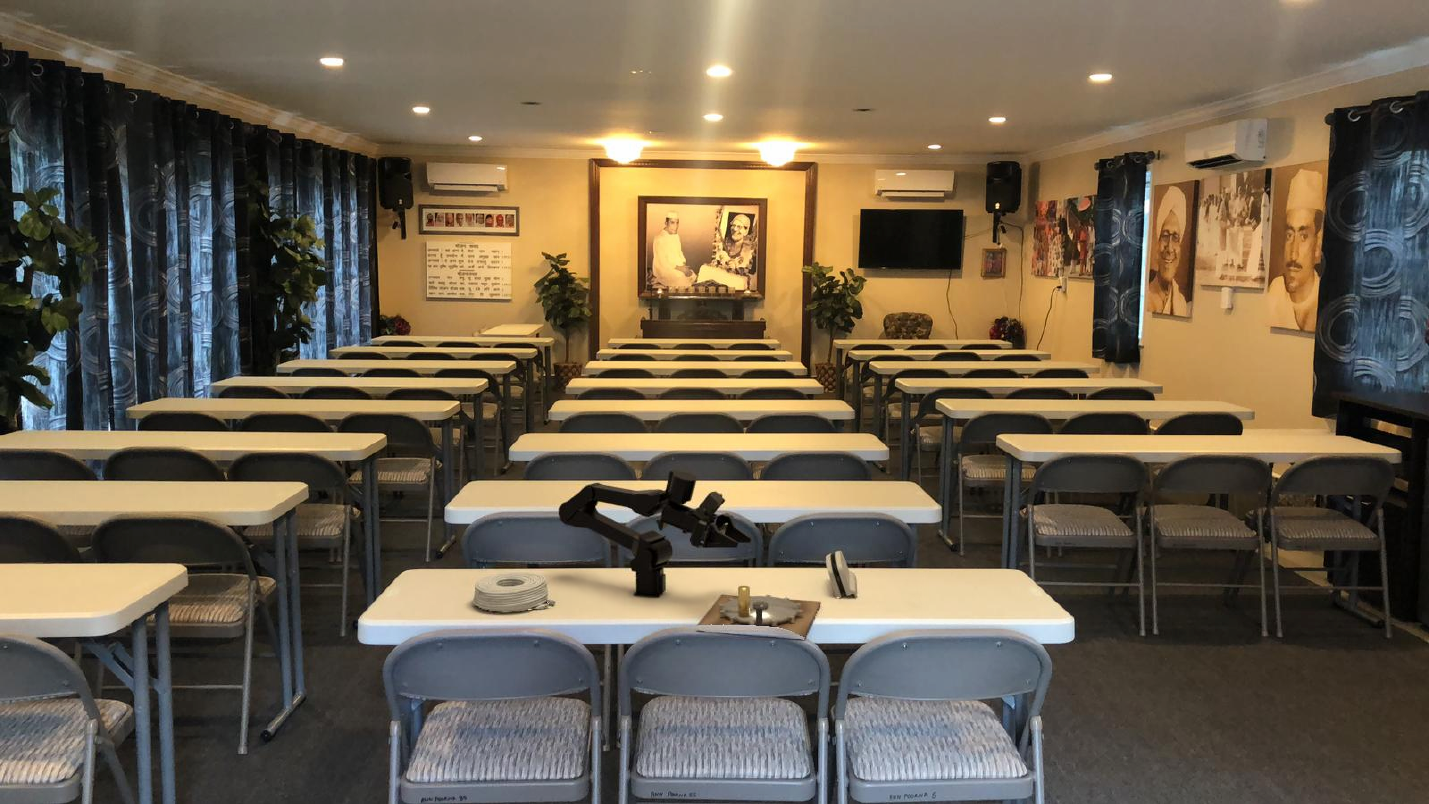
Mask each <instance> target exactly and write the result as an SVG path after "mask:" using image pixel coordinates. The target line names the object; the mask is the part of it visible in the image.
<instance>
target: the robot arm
mask: <svg viewBox="0 0 1429 804" xmlns="http://www.w3.org/2000/svg"><path fill="white" fill-rule="evenodd" d="M697 478H698V477H697V475H695V474H694V473H692V472H687V471H679V470H676V469H672V470H670V471H669V472H668V480H667V484H666V487H665V489H664V490H663V489H659V488H658V489H643V490H633V489H628V488H623V487H618V486H614V485H613V486H612V485H606V484H603V483H601V482H594V483H593V482H592V483H591V484H586V485H585V486H584V487H583V488H581V489H580V490H579V492H577V493H575V494H574V496H572V497H570V498H569V499H568V500H566V501H564V502H562V503H561V504H560V505H559V506H558V507H559V508H558V516H559V521H560V522H561V523H563V524H564V525H567V526H570V527H573V528H582V529H587V530H590V531H591V532H595V533H596V534H598V535H599V536H602V537H603V538H606V539H608V540H609V541H611V542H613V543H615V544H617V545H618V546H619V545H620V546H621V547H624V548H625V549H627V550H629V551H630V552H631V553H632V555H633V557H634V558H633V559H632V560H631V561H630V562H629V565H630V569H631V572H635V591H634V592H633V596H635V597H636V596H637V597H647V598H648V597H649V598H650V597H651V598H660V597H661V595H662V594H664V593H665V592H666V590H667V577H666V576H667V575H666V574H665V572H664V571H665V570H664V567H667V566H668V564H669V561H670V559H671V558H672V556H673V551H674V550H673V545H672V543H671V541H670V540H668V539H667V538H666V537H667V536H666V535H662V534H659V533H658V532H657V531H655V530H649V531H646V532H644V533H640V532H639V531H636V530H634V529H632V528H630V527H628V526H627V525H624V524H622V523H620V522H618V521H616V520H614V519H612V518H610V517H608V516H606V515H604V514H602V513H600V512H599V511H598V509H597V506H598V504H599V503H604V504H610V505H612V506H613V505H614V506H618V507H624V508H628V509H631V511H632V512H634V513H635V514H637V515H639V516H642V517H645V518H651V517H653V516H657V515H658V514H660V517H659V518H658V519H655V522H656V524H657V528H658V530H659V531H661V532H662V531H663V530H664V529H666V528H668V526H671V527H673V528H675V529H679V530H681V531H682V532H681V533H683V534H684V535H688V534H690V538H689V542H690V544H691V546H693V547H695V548H698V549H700V548H702V549H715V548H717V549H722V548H724V549H725V548H726V549H727V548H729V549H730V548H731V549H732V548H734V549H735V548H738V547H739V544H742V543H743V544H751V542H752V538H751V536H749V535H748V534H746V533H745V532H744V531H743V530H741V529H740V528H739V527H738V526H737V525H736V522H735V517H734V515H732V514H730V513H727V512H725V513H722V514H720V515H718V514H717V513H716V512H717V511H718V510H719V509H720V508H721V506H722V505H724V503H726V499H725V498H723V494H722V493H719V492H718V491H711V492H709V493H708V494H707V495H706V497H704V500H703V501H702V502H701V503H700V504H699V506H698V507H695V508H692V507H691V506H687V505H686V504H687V502H691V501H692V499H693V495H694V491H695V487H696V483H697Z"/></svg>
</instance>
